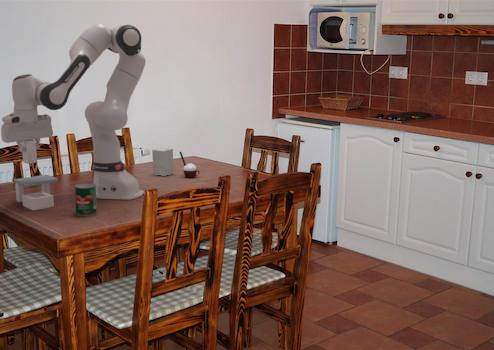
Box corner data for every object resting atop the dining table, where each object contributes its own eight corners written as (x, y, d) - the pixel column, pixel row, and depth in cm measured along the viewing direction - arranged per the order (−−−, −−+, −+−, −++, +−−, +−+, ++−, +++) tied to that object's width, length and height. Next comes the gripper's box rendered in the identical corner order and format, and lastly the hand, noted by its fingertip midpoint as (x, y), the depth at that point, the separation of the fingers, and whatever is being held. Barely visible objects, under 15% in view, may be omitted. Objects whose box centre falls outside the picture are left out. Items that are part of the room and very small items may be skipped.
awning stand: (69, 203, 266) (68, 182, 264) (32, 210, 256) (31, 187, 254) (47, 195, 279) (46, 174, 277) (12, 201, 269) (10, 179, 267)
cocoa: (200, 177, 317) (202, 153, 315) (192, 179, 312) (194, 154, 309) (185, 174, 322) (186, 150, 320) (177, 176, 317) (178, 151, 314)
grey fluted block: (173, 174, 322) (173, 148, 320) (164, 177, 316) (163, 151, 314) (162, 172, 326) (161, 147, 324) (152, 175, 320) (151, 149, 317)
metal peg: (37, 162, 265) (35, 140, 263) (27, 163, 262) (25, 141, 260) (32, 160, 268) (30, 138, 265) (23, 162, 265) (21, 140, 263)
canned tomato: (77, 216, 248) (76, 188, 245) (74, 211, 255) (72, 183, 252) (98, 214, 251) (97, 186, 248) (94, 209, 258) (93, 182, 256)
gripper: (46, 112, 270) (49, 146, 273) (-3, 118, 256) (1, 153, 259) (54, 114, 265) (56, 148, 268) (4, 120, 252) (8, 155, 255)
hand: (29, 150), depth 264 cm, fingers closed on metal peg, 4 cm apart
